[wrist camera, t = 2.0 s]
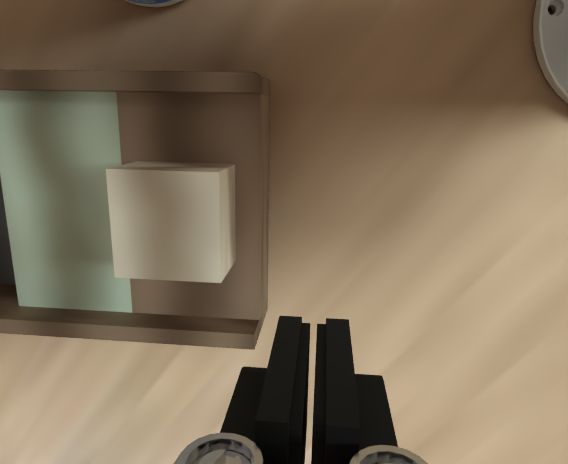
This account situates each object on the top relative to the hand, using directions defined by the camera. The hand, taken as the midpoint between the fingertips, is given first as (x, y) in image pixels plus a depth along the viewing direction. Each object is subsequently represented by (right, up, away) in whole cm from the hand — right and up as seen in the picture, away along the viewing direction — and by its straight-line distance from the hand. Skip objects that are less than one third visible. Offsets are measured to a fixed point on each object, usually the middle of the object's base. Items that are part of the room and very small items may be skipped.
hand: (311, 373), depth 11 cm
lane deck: (-14, +6, +22) cm, 27 cm away
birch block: (-7, +5, +17) cm, 19 cm away
